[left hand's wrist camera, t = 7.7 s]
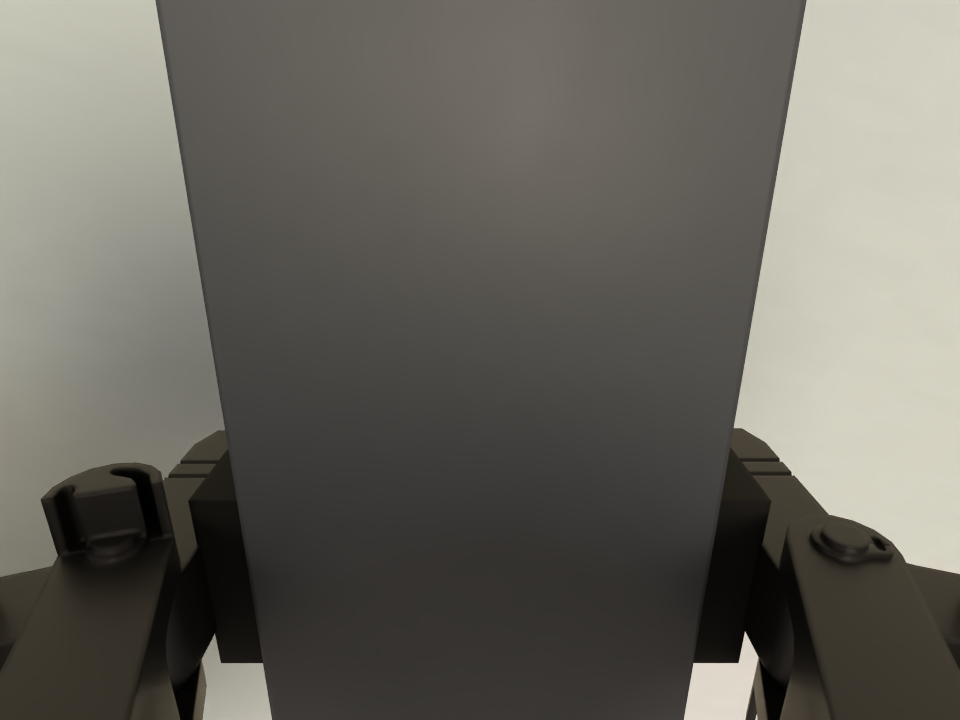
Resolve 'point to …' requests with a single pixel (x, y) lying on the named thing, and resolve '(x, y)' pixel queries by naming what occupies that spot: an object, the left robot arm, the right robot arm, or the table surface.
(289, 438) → the bar
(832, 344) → the table surface
